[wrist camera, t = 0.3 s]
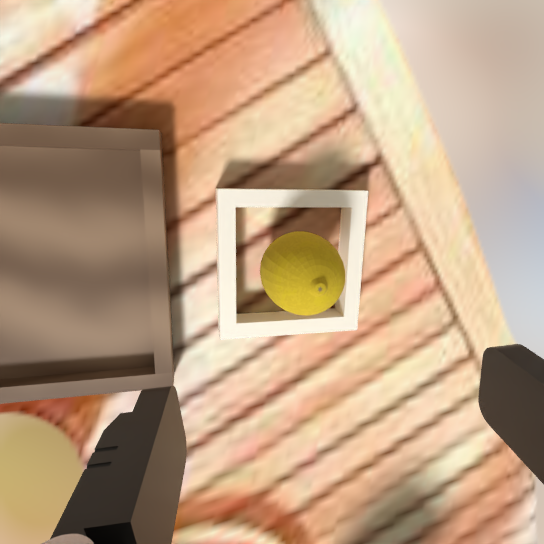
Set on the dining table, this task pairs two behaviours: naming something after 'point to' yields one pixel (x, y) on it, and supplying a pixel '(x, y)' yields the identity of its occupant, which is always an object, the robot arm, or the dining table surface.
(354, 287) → the holder frame
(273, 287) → the lemon
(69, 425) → the dining table surface
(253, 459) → the dining table surface
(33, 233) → the walnut tray
